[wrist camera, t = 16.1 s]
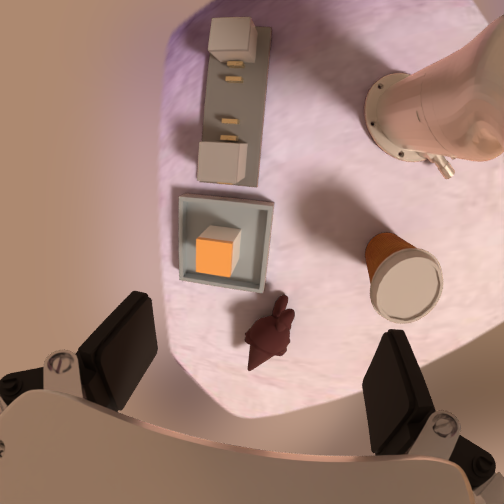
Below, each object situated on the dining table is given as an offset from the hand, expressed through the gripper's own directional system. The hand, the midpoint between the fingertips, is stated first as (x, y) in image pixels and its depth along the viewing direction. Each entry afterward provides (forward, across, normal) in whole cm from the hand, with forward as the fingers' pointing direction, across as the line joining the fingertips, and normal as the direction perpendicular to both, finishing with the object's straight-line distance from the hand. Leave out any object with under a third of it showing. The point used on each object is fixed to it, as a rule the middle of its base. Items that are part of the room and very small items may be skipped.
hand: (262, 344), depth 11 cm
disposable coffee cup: (+31, -15, +6) cm, 35 cm away
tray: (+30, +8, +8) cm, 32 cm away
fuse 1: (+29, +8, -20) cm, 37 cm away
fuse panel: (+30, +8, -12) cm, 34 cm away
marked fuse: (+30, +8, +8) cm, 32 cm away
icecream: (+31, 0, +22) cm, 38 cm away
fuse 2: (+29, +8, -4) cm, 31 cm away
